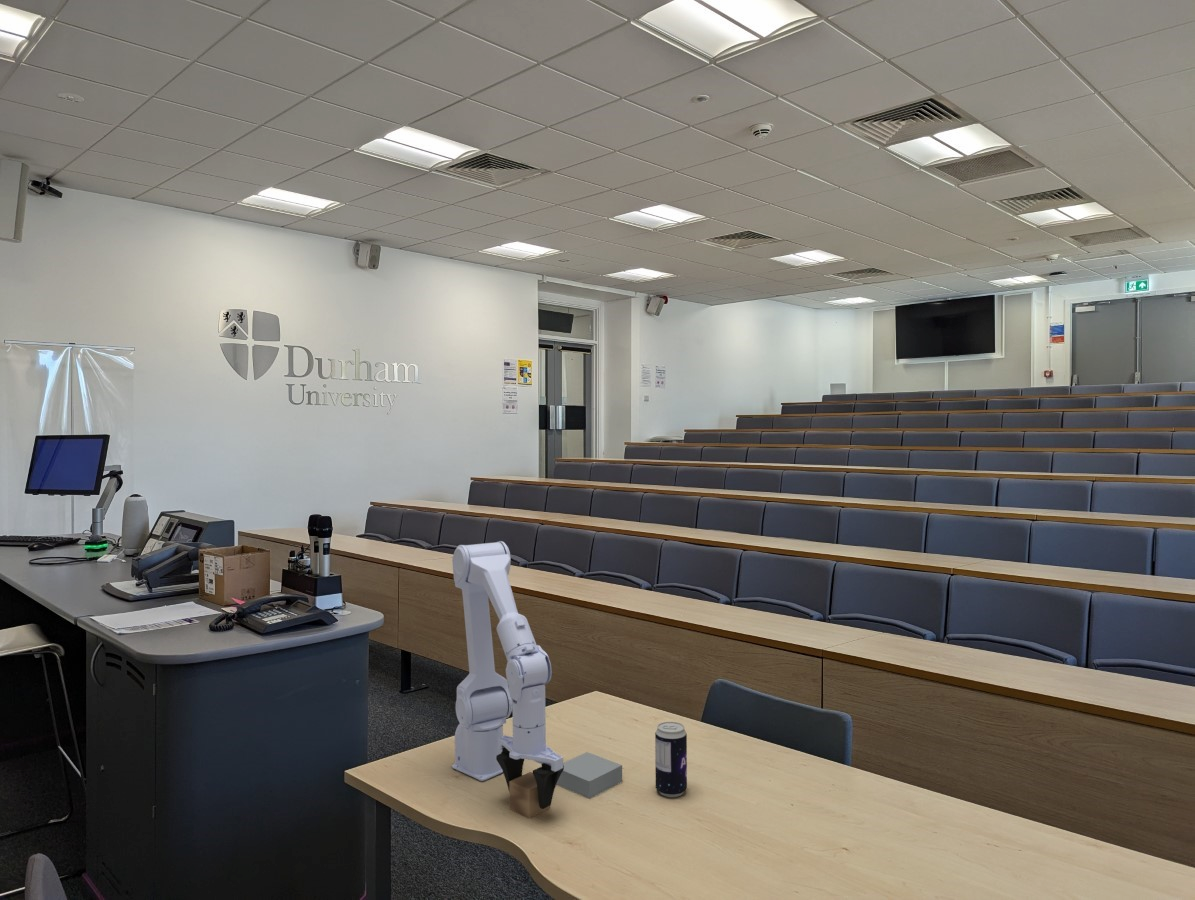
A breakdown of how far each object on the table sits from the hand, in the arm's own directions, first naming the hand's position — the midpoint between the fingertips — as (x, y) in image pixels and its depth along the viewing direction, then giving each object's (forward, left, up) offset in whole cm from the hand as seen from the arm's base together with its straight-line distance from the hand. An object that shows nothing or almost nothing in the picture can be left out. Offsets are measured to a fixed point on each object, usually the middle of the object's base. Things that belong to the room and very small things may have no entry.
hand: (530, 799), depth 136 cm
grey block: (+1, +14, -2) cm, 14 cm away
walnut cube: (0, 0, -2) cm, 2 cm away
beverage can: (+15, +21, -2) cm, 26 cm away
